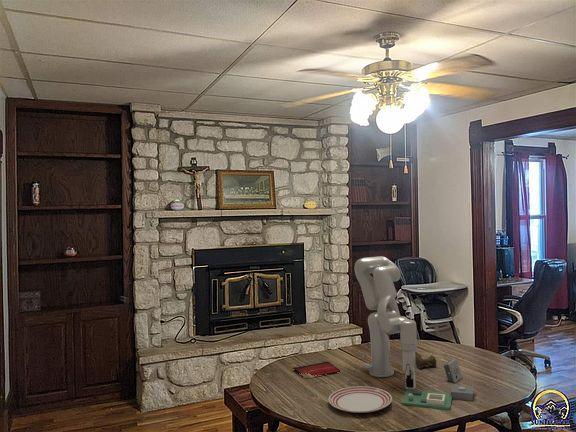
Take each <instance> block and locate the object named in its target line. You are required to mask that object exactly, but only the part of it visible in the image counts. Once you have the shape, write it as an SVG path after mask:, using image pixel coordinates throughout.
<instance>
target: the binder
mask: <svg viewBox="0 0 576 432" xmlns="http://www.w3.org/2000/svg"><path fill="white" fill-rule="evenodd" d="M292 369H295V370H296V373H300V374H301V373H302V374H303V373H304V374H305V373H307V374H308V373H310V374H311V375H314V376H315V375H317V376H318V375H324V376H326V375H325V374H329V375H332V374H331V373H336V374H338V373H337V372H340V371H341V369H340V368H338V367H336V366H335V365H334V364H332V363H331V362H329V361H324V362H318V363H311V364H306V365H302V366H296V367H293V368H292ZM340 373H341V372H340Z"/></svg>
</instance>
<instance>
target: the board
mask: <svg viewBox="0 0 576 432" xmlns="http://www.w3.org/2000/svg"><path fill="white" fill-rule="evenodd" d="M452 401H453V399H452V396H451V392H450V393H449V392H443V391H442V392H441V391H440V392H438V391H431V390H430V391H429V390H418V389H415V390H413V389H405V393H404V395H403V397H402V400H401V402H400V403H401V404H400V405H401V406H408V407H418V408H419V407H420V408H428V409H429V408H430V409H439V410H447V411H450V410H451V406H452Z"/></svg>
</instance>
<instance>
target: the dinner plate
mask: <svg viewBox="0 0 576 432" xmlns="http://www.w3.org/2000/svg"><path fill="white" fill-rule="evenodd" d="M392 401H393V397H392V395H391V394H390V392H388V391H386V390H384V389H381V388H378V387H372V386H362V385H361V386H360V385H359V386H349V387H344V388H340V389H337V390H336V391H333V392H332V393H331V394H330V395H329V396H328V403H329V404H330V405H331V406H332V407H333V408H335V409H338V410H340V411H343V412H347V413H348V412H349V413H355V414H363V413H364V414H366V413H372V412H377V411H380V410H383V409H385V408H386V407H388V406H389V405H390V404H391V403H392Z"/></svg>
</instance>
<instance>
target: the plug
mask: <svg viewBox="0 0 576 432" xmlns="http://www.w3.org/2000/svg"><path fill="white" fill-rule="evenodd" d="M410 372H411V371H410ZM404 373H405V374H404V377H405V378H404V381H405V382H404V384H405V385H406V372H404ZM410 375H411V374H410ZM412 379H413V388H410V387H406V386H405V390H407V389H410V390H416V386H417V385H416V371H414V372H413V373H412Z"/></svg>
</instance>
